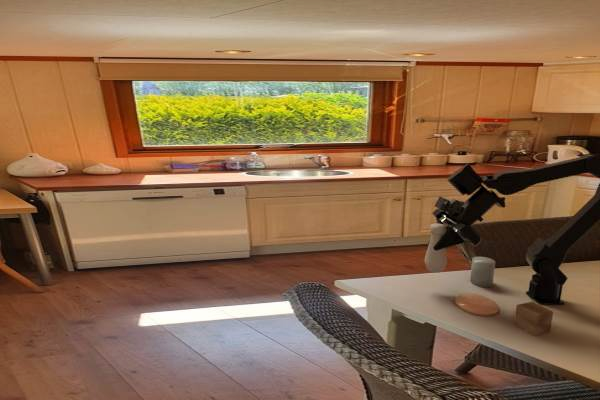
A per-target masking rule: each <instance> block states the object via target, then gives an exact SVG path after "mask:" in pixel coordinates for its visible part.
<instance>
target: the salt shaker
mask: <svg viewBox="0 0 600 400" xmlns="http://www.w3.org/2000/svg"><path fill="white" fill-rule="evenodd" d="M446 230H447V228H446V226H445V225H443V224H437V222H436V223H432V224H430V226H429V232H430V233H431V235H430V238H429V240H430V242H429V241H428V242H429V244H428V246H427V250H426V252H425V257H424V265H425V268H426V269H427V271H430V272H431V273H441V272H443V271H444V270H445V268H446V267H447V265H448V264H447V263H448V260H447V252H446V250H447V249H446V248H443V249H440V250H437V251H435V250H434V249H433V247H434V246H435V245H436V243H437V242H438V241H439V240H440V239H441V238H442V237H443V235H444V234H445V233H446Z"/></svg>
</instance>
